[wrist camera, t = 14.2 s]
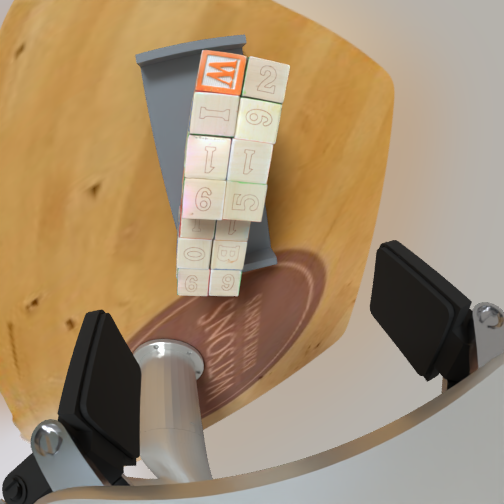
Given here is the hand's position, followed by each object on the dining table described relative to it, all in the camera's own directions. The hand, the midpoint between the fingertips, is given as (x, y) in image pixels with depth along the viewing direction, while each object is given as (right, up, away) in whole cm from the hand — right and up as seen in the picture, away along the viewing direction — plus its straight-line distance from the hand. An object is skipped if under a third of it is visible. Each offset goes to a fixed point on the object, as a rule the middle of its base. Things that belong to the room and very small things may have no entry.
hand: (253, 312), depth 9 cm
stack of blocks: (-5, +11, +22) cm, 25 cm away
